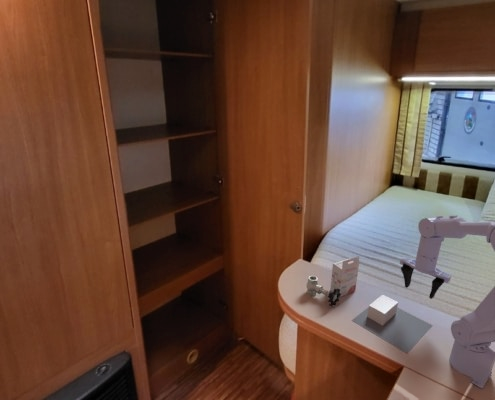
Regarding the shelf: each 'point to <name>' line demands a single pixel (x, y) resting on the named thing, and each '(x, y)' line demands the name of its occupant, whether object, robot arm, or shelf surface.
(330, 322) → the shelf surface
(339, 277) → the ink cartridge box
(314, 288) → the valve
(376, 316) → the block
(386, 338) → the board
